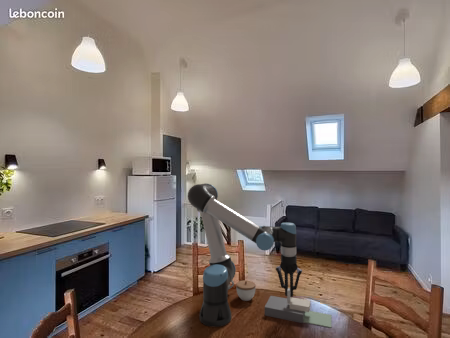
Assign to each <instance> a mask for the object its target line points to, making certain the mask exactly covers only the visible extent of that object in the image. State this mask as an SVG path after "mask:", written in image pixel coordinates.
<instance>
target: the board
mask: <svg viewBox="0 0 450 338" xmlns="http://www.w3.org/2000/svg"><path fill="white" fill-rule="evenodd" d="M264 316H266V317H272V318H275V319H281V320H286V321H289V322H290V321H291V322H295V323H300V324H304V322H303V320H304V316H305V312H304V311H299V310H294V309H290V304H287V297H280V296H275V295H270V296H269V297H268V300H267V302H266V303H265V305H264Z"/></svg>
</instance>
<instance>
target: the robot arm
mask: <svg viewBox="0 0 450 338" xmlns="http://www.w3.org/2000/svg"><path fill="white" fill-rule="evenodd" d="M218 195H219V193H218V190H217V188H216V187H215V186H214V185H213V184H210V183H198V184H197V183H196V184H195V185H192V186H191V187H190V188H189V190H188V192H187V201H188V203H189V204H190V205H191V206H192V207H194V208H195V209H196V212H198V213H200V215H201V219H202V223H203V228H204V232H205V237H206V241H207V245H208V250H209V255H210V258H209V260H208V262H209V265H208V266H207V267H205V268H204V270H203V274H202V280H203V281H202V290H203V291H202V293H203V294H202V298H203V300H202V305H201V308H200V311H199V321H200V323H201V324H202V323H203V324H202V325H204V326H207V327H212V328H217V327H218V328H219V327H223V326H226V325H228V324H229V323H230V322H231V321H232V311H231V308H230V305H229V300H228V291H229V290H228V286H229V284H230V285H231V283H232V282H231V281H232V280H233V281H234V277H235V275H236V266H235V263H234V262H233V261H232V258H231V255H230V254H228V253H227V250H226V249H227V248H226V244H225V240H224V235H223V232H222V228H221V223H223V224H224V225H226V226H228V227H229V228H231V229H232V230H234V231H236V232H237V233H239V234H240V235H242V236H243V237H245V238H247V239H248V240H250V241H252V243H255V244H256V246H257V248H258V249H259V250H261V251H268V250H270V249H271V248H272V247H273V246H274V244H275V243H280V264H279V265H278V266H276V267H275V270H276V273H277V275H278V279H279V282H280V283H279V284H280V288H282V289H284V296H285V297H286V298H287V304H290V301H291V298H292V297H293V296H294V290H295V291H296V290H297V289H298V285H299V282H300V276H301V275H302V273H303V269H301V268H299V266H298V264H297V257H298V256H297V226H296V224H295V223H293V222H282V223H280V226H268V225H262V226H261V225H258V224H256V223H255V222H253V221H252V220H250V219H248V218H247V217H245V216H243V215H242V214H241V213H239V212H237V211H235V210H234V209H232V208H230V207H229V206H227V205H226V204H224V203H222V202H221V201H219V200H218V197H219V196H218ZM220 222H221V223H220ZM282 271H283V273H282ZM295 272H296V274H297V275H296V277H295V281H294V274H295ZM283 274H284V277H283ZM293 298H294V297H293Z"/></svg>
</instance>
